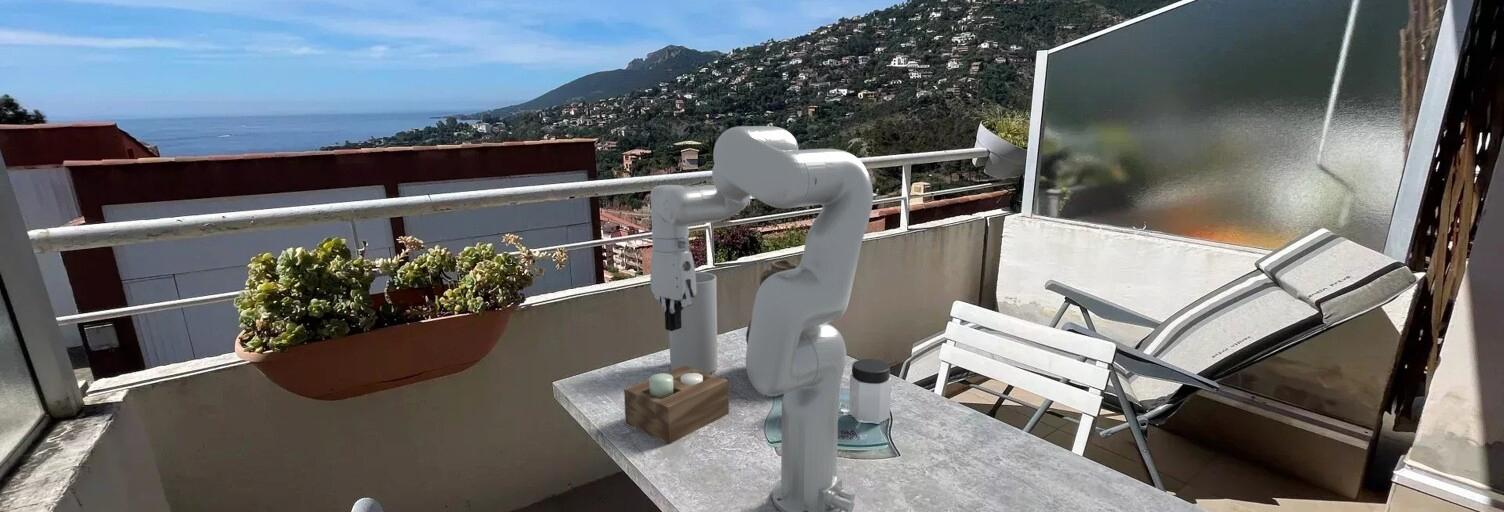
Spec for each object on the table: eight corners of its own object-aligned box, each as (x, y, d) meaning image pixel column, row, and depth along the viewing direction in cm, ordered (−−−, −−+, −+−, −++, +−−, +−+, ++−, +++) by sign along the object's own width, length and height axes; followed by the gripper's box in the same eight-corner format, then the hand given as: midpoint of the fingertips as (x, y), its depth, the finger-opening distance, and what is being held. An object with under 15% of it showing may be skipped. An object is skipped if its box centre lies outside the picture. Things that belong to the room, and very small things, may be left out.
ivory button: (707, 393, 144) (707, 376, 143) (692, 400, 140) (691, 383, 139) (692, 387, 147) (691, 371, 146) (676, 394, 143) (675, 377, 142)
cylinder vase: (721, 375, 165) (719, 282, 160) (672, 379, 162) (669, 284, 157) (713, 358, 177) (712, 271, 172) (668, 362, 174) (665, 273, 169)
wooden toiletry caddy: (728, 413, 143) (728, 380, 142) (669, 443, 130) (668, 407, 128) (685, 396, 152) (684, 365, 151) (625, 423, 139) (624, 389, 137)
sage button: (678, 394, 136) (677, 377, 136) (660, 402, 133) (660, 384, 132) (662, 388, 140) (662, 371, 139) (645, 396, 136) (644, 378, 135)
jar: (843, 410, 145) (845, 360, 142) (875, 405, 147) (877, 356, 145) (861, 427, 136) (863, 375, 134) (895, 422, 139) (897, 370, 136)
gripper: (708, 246, 130) (710, 332, 134) (661, 238, 140) (664, 318, 144) (681, 252, 125) (683, 341, 129) (634, 243, 135) (637, 326, 138)
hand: (673, 328), depth 136 cm, fingers closed
